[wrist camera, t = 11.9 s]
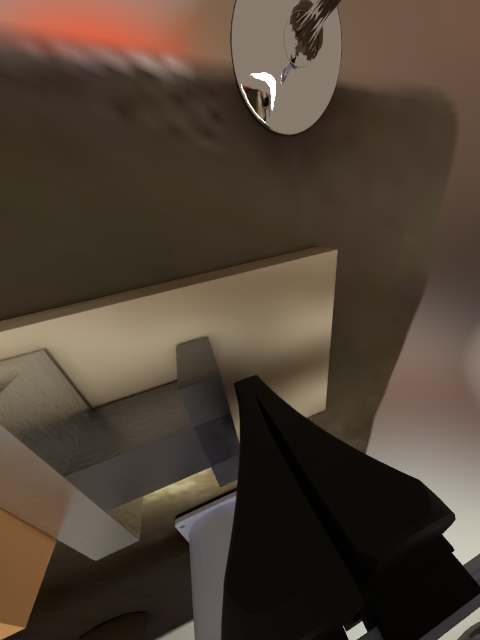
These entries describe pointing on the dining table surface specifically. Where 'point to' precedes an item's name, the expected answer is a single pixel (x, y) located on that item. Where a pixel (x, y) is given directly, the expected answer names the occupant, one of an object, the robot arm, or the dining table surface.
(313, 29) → the wineglass
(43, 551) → the orange block
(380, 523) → the robot arm
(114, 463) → the moving jaw
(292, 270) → the vise bed
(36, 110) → the dining table surface
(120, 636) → the beer bottle
